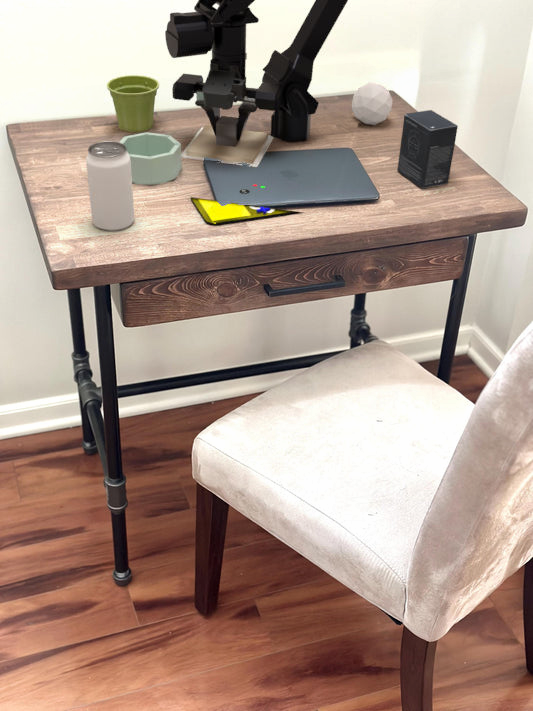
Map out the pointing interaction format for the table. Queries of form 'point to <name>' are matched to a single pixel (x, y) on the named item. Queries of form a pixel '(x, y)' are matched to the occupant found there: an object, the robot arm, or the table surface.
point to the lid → (227, 142)
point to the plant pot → (134, 101)
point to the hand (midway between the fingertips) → (228, 138)
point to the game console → (234, 211)
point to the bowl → (153, 157)
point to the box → (426, 148)
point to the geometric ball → (372, 103)
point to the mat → (232, 161)
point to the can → (110, 185)
